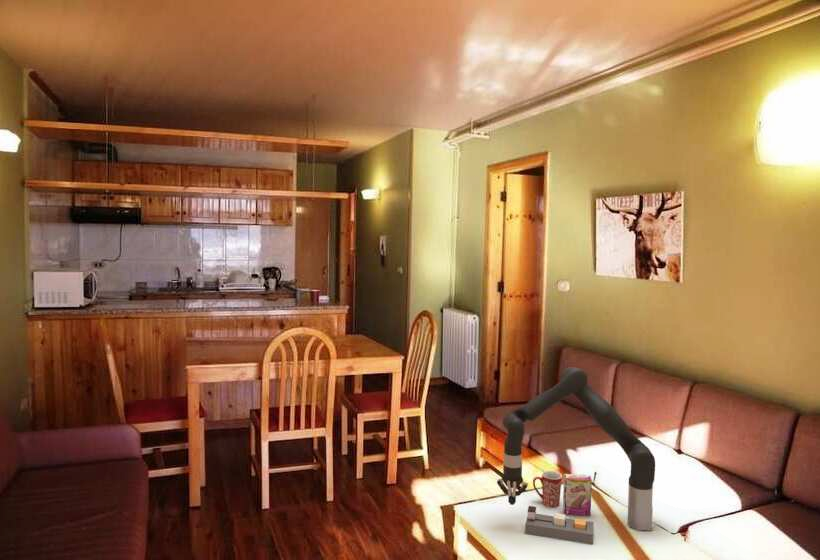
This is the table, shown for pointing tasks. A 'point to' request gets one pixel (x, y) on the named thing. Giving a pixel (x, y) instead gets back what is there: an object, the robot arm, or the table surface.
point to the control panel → (559, 529)
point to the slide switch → (531, 512)
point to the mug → (550, 488)
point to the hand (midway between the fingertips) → (511, 503)
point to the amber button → (580, 524)
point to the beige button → (559, 519)
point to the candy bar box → (577, 494)
